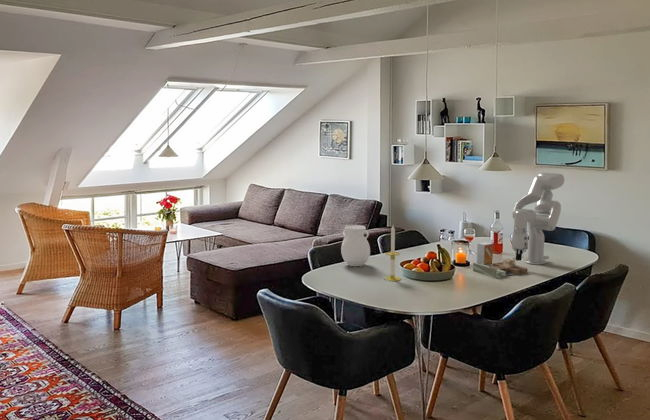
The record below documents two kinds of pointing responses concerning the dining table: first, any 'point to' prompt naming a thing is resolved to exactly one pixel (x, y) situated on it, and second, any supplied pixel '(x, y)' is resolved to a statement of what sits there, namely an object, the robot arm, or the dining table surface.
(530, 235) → the robot arm
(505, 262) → the maple cube
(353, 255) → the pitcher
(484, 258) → the small box
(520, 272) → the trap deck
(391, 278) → the candle
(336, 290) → the dining table surface
